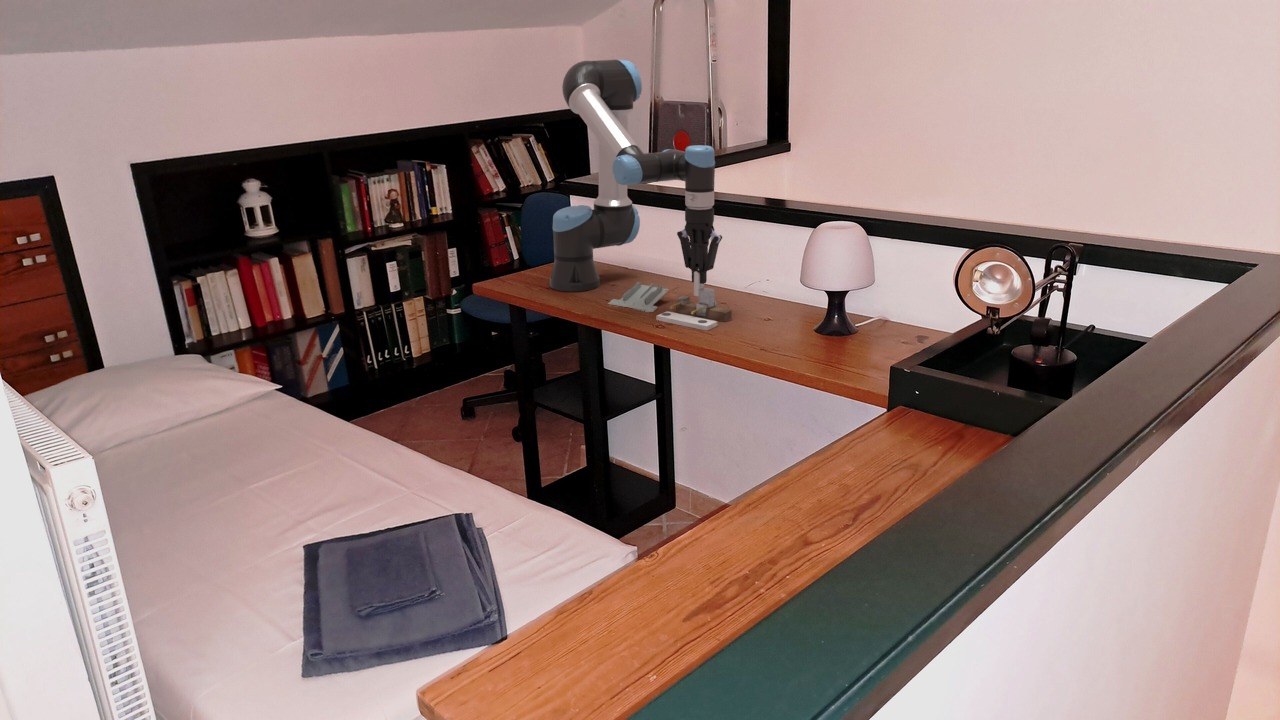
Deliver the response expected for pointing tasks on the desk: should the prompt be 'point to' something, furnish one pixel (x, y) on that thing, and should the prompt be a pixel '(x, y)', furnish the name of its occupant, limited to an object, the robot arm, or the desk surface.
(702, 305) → the slider
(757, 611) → the desk surface
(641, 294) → the metal bracket
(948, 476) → the desk surface
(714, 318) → the brown fixture base
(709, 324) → the hole plate
